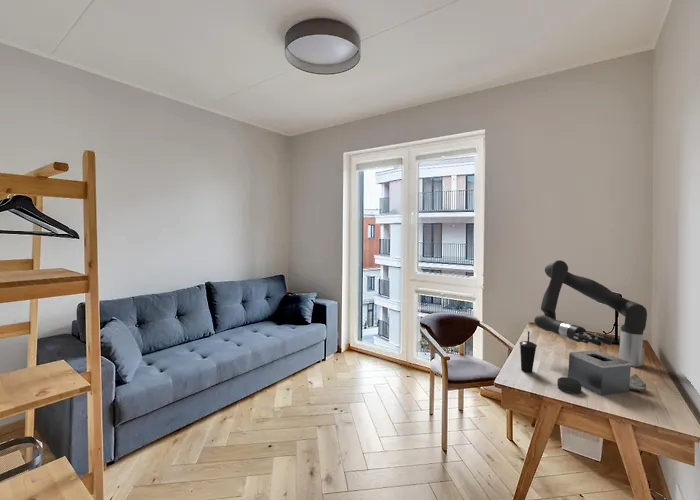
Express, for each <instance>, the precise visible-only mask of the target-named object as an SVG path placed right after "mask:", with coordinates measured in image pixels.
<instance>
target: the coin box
mask: <svg viewBox="0 0 700 500" xmlns="http://www.w3.org/2000/svg"><path fill="white" fill-rule="evenodd" d="M568 354H569V355H568V370H567V371H568V372H567V373H568V374H567V378H572V379H575V380H577V381H578V382H580V383H581V387H583V388H584V389H587V390H589V391H591V392H593V393H595V394H597V395H599V396H606V395H617V394H622V393H623V394H624V393H630V390H629V385H630V377H631V370H632V369H631V368H632V366H631V363H630V362H627V361H625V360H622V359H619V357H616V356H613V355H610V354H608V353H605V352H602V351H599V350H597V349H593V350H583V351H580V350H579V351H570V352H569V353H568Z"/></svg>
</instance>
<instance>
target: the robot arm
mask: <svg viewBox="0 0 700 500" xmlns="http://www.w3.org/2000/svg"><path fill="white" fill-rule="evenodd" d="M544 272H545V275H546V276H547V277H549V278H550V280H549V283H548V286H547V288H546V289H545V292H544V294H543V296H542V297H543V298H542V301H541V305H540V311H542V312H543V314H538V315H536V316H535V317H534V320H533V321H534V322H533V323H534V324H535V326H537V327H538V328H540V329H541V330H544V331H546V332H552V333H554V334H556V335H559V336H561V337H563V338H566V339H567V340H568V339H569V340H571V341H573V342H576V343H584V344H588V343H589V344H592V345H596V346H599V347H600V346H602V344H605V345H607V346H608V345H609V346H611V345H612V343H613V341H612V340H611V339H608V338H606V335H603V334H600V333H598V332H594V333H592V332H589V331H586V330H587V329H585V327H583V326H579V325H577V324H572V323H569V322H565V321H561V320H558V319H557V316H556V315H557V314H556V309H557V305H558V301H559V295H560V293H561V290H562V287H563V285H566V286H568V287H570V288H572V289H573V290H575V291H577V292H578V293H581V294H582V295H583V296H585V297H588V298H590V299H591V300H594V301H595V302H598V303H601V304H603V305H606V306H608V307H609V308H611V309H613V310H615V311H616V312H618V313H619V314H621V315H622V316H623V317H624V323H623V324H621V326H620V338H619V350H618V358H619V359H622V360H625V361H627V362H630V363H631V367H635V368H637V367H641V366H642V367H643V366H644V356H645V348H644V347H643V343H644V331H645V330H646V326H647V319H648V310H647V309H646V307H645V306H644V305H643V304H640V303H638V302H636V301H632V300H629V299H627V298H624V297H622V296H619V295H618V294H616V293H615V292H613V291H612V290H610V289H609V288H608V287H606V286H605V285H603V284H602V283H599V282H598V281H595V280H593V279H591V278H587V277H584V276H580V275H576V274H574V273H571V272H570V271H569V266H568V264H567V263H566V262H565V261H563V260H561V259H559V260H555V261H552V262H550V263H548V264H547V265H546V266H545V267H544Z"/></svg>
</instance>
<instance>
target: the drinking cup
mask: <svg viewBox="0 0 700 500" xmlns="http://www.w3.org/2000/svg"><path fill="white" fill-rule="evenodd" d="M537 347H538V345H537V344H536V343H534V342H532V341H530V331H527V340H523V341H520V342H519V349H520V351H519V352H520V370H521V371H522V372H523V373H526V374H527V373H528V374H531V373H533V369H534V363H535V358H536V357H535V355H536V350H537Z"/></svg>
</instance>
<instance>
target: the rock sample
mask: <svg viewBox="0 0 700 500" xmlns="http://www.w3.org/2000/svg"><path fill="white" fill-rule="evenodd" d="M646 390H647V385H646V383H645V382H644V380H642V378H641V377H639V375H638V374H637V373H634V374H633V375H630V385H629V391H636V392H638V393H640V392H641V393H645V392H646Z"/></svg>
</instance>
